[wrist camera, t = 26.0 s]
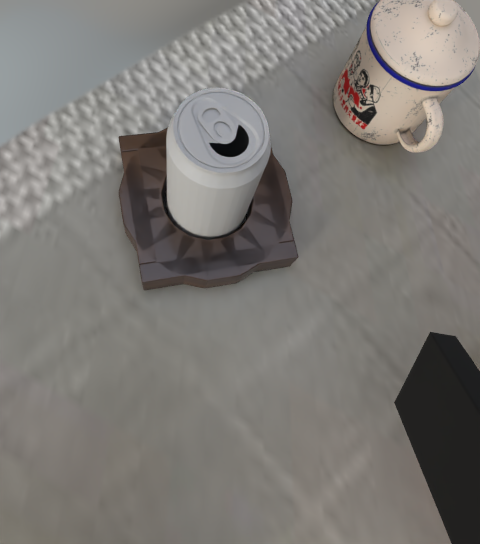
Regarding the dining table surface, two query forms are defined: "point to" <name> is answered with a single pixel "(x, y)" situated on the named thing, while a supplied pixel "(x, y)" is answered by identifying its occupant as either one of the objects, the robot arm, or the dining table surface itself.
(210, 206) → the beverage can
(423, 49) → the teacup with lid
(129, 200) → the socket pad
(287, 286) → the dining table surface
